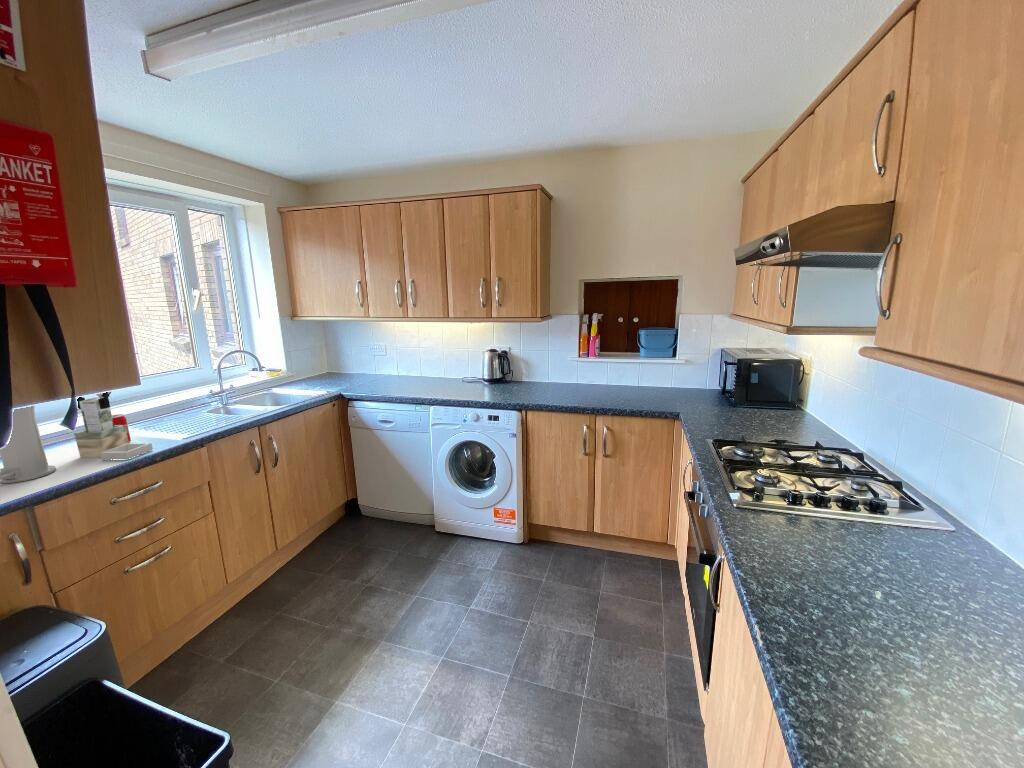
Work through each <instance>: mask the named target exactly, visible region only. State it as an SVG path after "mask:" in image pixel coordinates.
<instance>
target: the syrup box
mask: <svg viewBox="0 0 1024 768" xmlns="http://www.w3.org/2000/svg"><path fill="white" fill-rule="evenodd" d="M98 399H100V398H99V397H98V396H97V397H91V398H87V399H85V400H83V401H79V403H80V407H81V409H80V411H81V416H82V421H83V424H84V428H85V430H86V432H102V431H105V430H108V429H112V428H114V424H113V419H112V415H113V414H112V411H111V406H110V407H109V408H105V409H100V405H99V400H98Z"/></svg>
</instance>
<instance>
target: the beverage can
mask: <svg viewBox="0 0 1024 768" xmlns="http://www.w3.org/2000/svg"><path fill="white" fill-rule="evenodd" d="M111 415H112V419H113V424H114V425H125V428H126V432H127V436H128V441H129V443H130V442H131V441H132V439H131V435H130V430H129V426H128V422H127V417H125V415H124V414H122V413H121V414H120V413H119V414H118V413H117V414H111Z"/></svg>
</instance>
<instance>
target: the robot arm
mask: <svg viewBox="0 0 1024 768" xmlns="http://www.w3.org/2000/svg"><path fill="white" fill-rule="evenodd" d="M111 394H112V391H111V392H106V393H100V394H95V396H97V397H99V398H100V399H98V400H99V405H100V409H105V408H109V407H110V408H111V404H110V399H109V397H110V395H111ZM83 400H86V399H85V397H79V398H78V399H77V401H78V408H79V409H78V410H81V407H80V403H79V401H83ZM42 441H43V440H42V438H41V434H40V430H39V426H38V423H37V419H36V413H35V405H34V406H31V407H26V408H20V409H15V410H14V412H13V430H12V434H11V438H10V441H9V443H8V445H7V446H6V447H5V448H3V449H1V450H0V459H1V462H2V466H3V467H2V468H0V483H1V484H14V483H22V482H27V481H30V480H34V479H39V478H42V477H44V476H47V475H50V474H52V473H55V471H56V470H57V467H56V466H55V465H52V464H51V465H49V463H48V460H47V455H46V452H45V449H44V446H43V445H44V444H43V442H42Z"/></svg>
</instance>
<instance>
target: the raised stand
mask: <svg viewBox="0 0 1024 768" xmlns="http://www.w3.org/2000/svg"><path fill="white" fill-rule="evenodd" d="M73 435H74V438H75V442H76V445H77V450H78V455H79V458H101V454H100V453H101V452H104V451H107V450H110V449H113V448H115V447H118V446H121V445H124V444H127V443H130V442H129V441H128V436H127V432H126V428H125V425H114V428H112V429H108V430H105V431H102V432H86V429H85V430H81V431H77V432H74V433H73Z"/></svg>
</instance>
